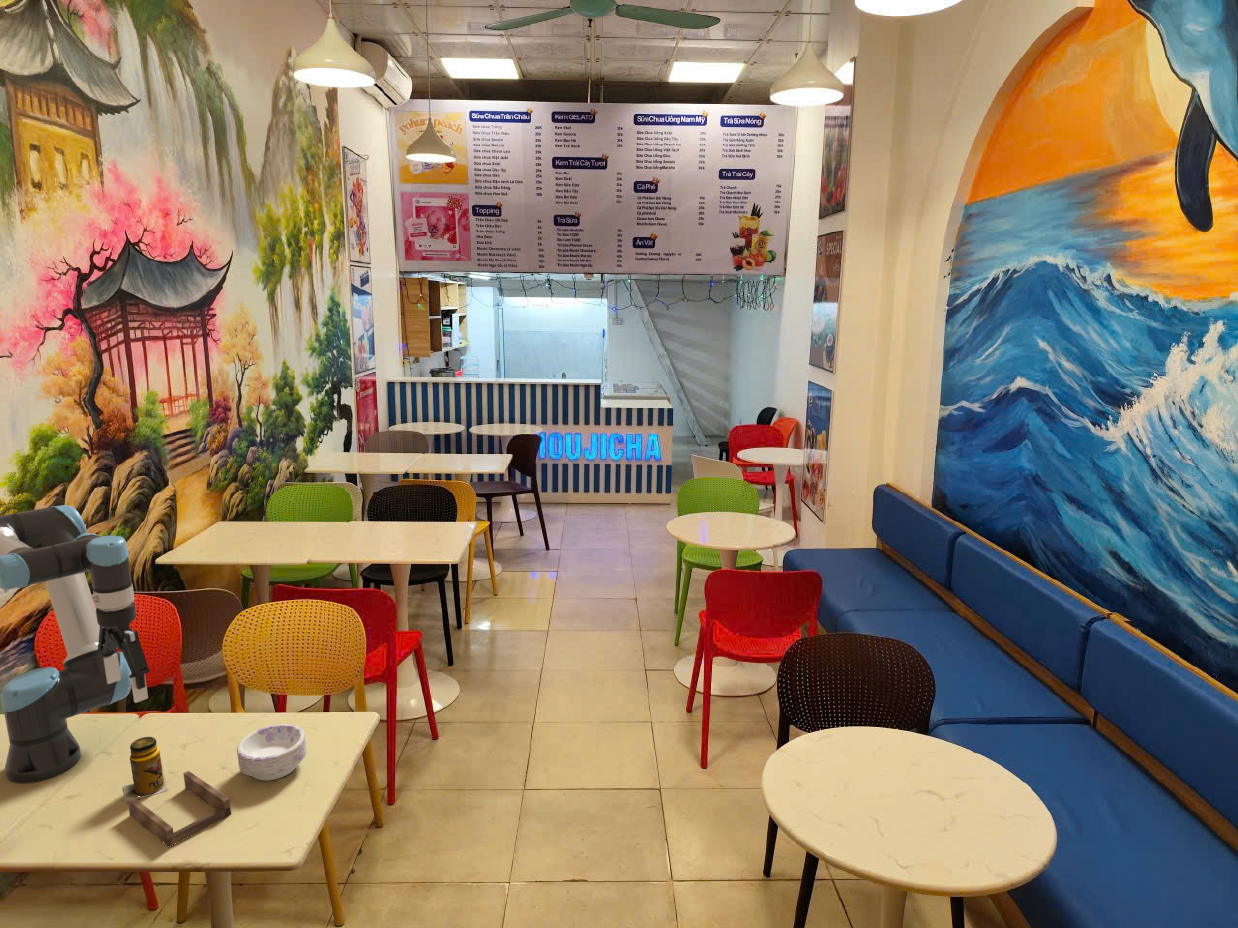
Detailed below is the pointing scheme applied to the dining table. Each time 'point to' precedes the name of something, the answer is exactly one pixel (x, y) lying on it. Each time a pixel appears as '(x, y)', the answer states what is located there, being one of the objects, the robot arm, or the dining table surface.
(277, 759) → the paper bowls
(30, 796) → the dining table surface
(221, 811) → the walnut shelf lane
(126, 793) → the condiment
